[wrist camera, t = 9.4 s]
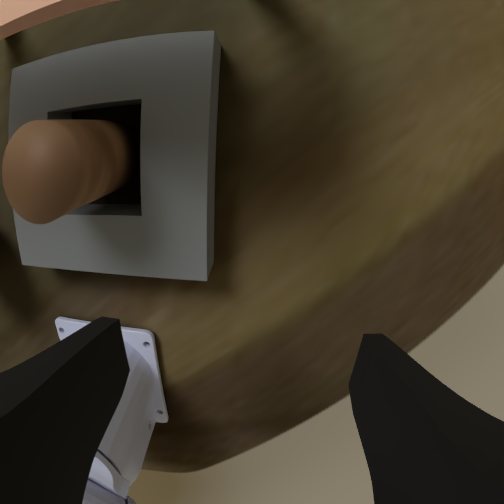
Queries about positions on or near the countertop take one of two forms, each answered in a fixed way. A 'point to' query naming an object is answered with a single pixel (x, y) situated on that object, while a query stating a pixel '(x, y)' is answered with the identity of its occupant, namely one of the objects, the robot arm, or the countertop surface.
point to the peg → (67, 165)
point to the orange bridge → (37, 12)
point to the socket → (151, 154)
